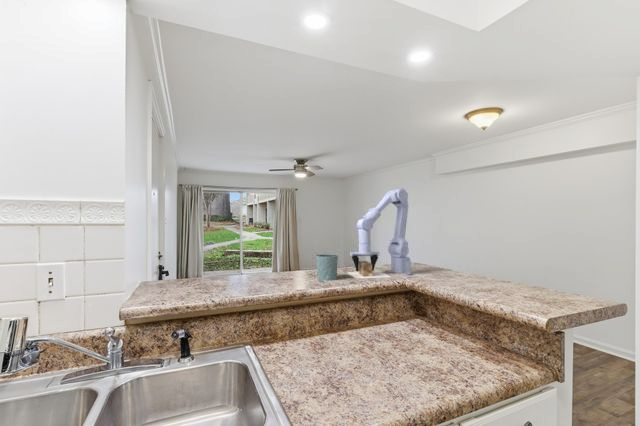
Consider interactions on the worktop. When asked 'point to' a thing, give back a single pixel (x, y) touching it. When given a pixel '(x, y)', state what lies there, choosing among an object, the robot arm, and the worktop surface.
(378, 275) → the board
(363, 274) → the sanding block
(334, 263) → the teal pot
